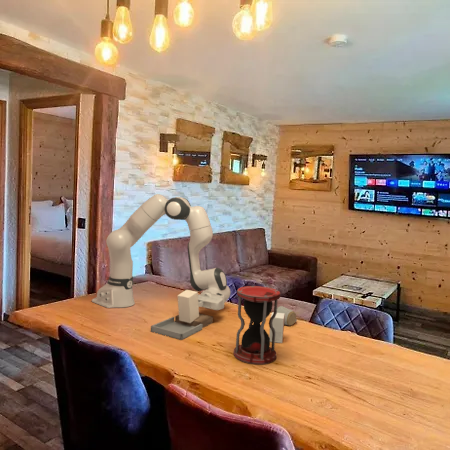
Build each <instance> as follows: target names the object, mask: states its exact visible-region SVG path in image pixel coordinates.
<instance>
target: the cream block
mask: <svg viewBox="0 0 450 450" xmlns="http://www.w3.org/2000/svg"><path fill="white" fill-rule="evenodd" d="M198 293H199V291H196V290H191V289H185V290H184V291H182V292H181V293H179V294H177V307H178V308H177V309H178V315H179V320H180V321H184V322H188V323H191V322H193V321H194V320H195V319H196V318H198V317H199V314H200V308H199V306H198Z"/></svg>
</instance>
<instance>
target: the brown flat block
mask: <svg viewBox="0 0 450 450" xmlns="http://www.w3.org/2000/svg"><path fill="white" fill-rule="evenodd" d="M174 322H178V323H182V324H186V325H190V326H194V327H195V326H197V325H199V324H203V325H202V329H204V328H205V327H208V326H210V325H212V324H213V323H214V316H212V315H208V314H202V313H199V317H198V318H196V319H195V320H194V321H193V322H191V323H188V322H184V321H180V320H179V314H177V315H175V316H174Z"/></svg>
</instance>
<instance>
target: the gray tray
mask: <svg viewBox="0 0 450 450" xmlns="http://www.w3.org/2000/svg"><path fill="white" fill-rule="evenodd" d="M202 325H203V324H199V325H197V326H195V327H194V326H190V325H186V324H182V323H178V322H175V316H172V317H169V318H167V319H164V320H162V321H160V322H157V323H155V324H151V326H150V332H151V333H154V332H155V333H154V334H157V333H158V334H157V335H161V334H162V335H161V336H165V335H166V336H165V337H168V336H169V337H168V338H173V339H175V338H176V340H180V341H183V340H185V339H186V338H189V337H190V336H193V335H195V334H196V333H198V332H199V333H200V331H203V328H202Z"/></svg>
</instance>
